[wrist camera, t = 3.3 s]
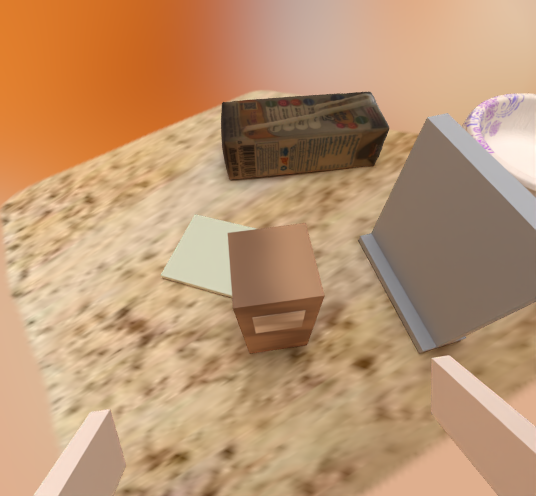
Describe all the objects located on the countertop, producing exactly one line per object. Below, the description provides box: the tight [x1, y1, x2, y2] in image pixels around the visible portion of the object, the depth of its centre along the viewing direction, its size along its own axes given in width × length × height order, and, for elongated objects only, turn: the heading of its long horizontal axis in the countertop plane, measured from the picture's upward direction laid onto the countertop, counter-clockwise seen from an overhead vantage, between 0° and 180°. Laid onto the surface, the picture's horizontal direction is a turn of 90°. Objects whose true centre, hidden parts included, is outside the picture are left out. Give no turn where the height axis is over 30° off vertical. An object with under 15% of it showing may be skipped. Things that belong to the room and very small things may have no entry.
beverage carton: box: [221, 92, 389, 180], centre depth 35 cm, size 8×19×7 cm, turn 96°
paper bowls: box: [462, 94, 536, 197], centre depth 30 cm, size 15×15×8 cm
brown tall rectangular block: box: [228, 223, 325, 353], centre depth 21 cm, size 5×5×11 cm
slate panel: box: [358, 113, 536, 353], centre depth 22 cm, size 12×4×14 cm, turn 15°
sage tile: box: [161, 214, 255, 298], centre depth 30 cm, size 8×8×1 cm
